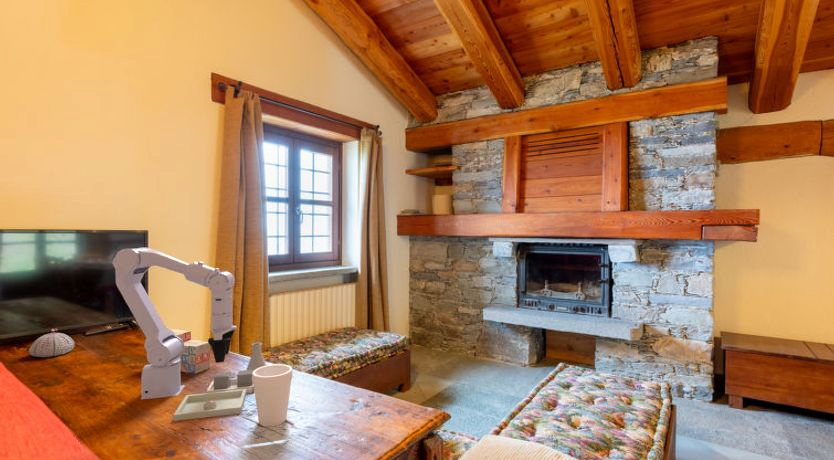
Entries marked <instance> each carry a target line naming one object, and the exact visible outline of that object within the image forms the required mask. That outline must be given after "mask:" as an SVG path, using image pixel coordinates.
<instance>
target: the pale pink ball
mask: <svg viewBox="0 0 834 460" xmlns="http://www.w3.org/2000/svg"><path fill="white" fill-rule="evenodd" d="M210 409H216V402H215V401H213V400H209V401H207V402H206V403H205V404H204V410H210Z"/></svg>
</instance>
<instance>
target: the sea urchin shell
mask: <svg viewBox="0 0 834 460" xmlns="http://www.w3.org/2000/svg"><path fill="white" fill-rule="evenodd" d="M75 343H76V342H75V341H74V340H73V338H72V337H71V336H70V335H67V334H65V333H62V332H50V333H46V334H44V335H42V336H40V337H38V338H37V339H36V340H34V342H33V343H32V344H31V345H30V347H29V350H28V352H29V354H30V355H31V356H32V357H36V358H51V357H56V356H61V355H62V356H63V355H65V354H67V353H69V352H70V351H72V350H73V349H74V347H75V346H76V345H75Z"/></svg>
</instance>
